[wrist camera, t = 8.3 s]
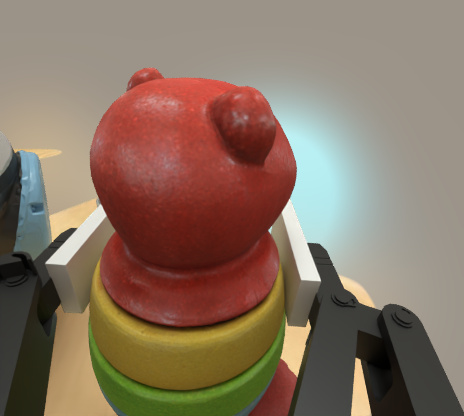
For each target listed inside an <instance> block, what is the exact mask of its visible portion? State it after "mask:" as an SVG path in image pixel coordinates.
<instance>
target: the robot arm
mask: <svg viewBox="0 0 464 416" xmlns="http://www.w3.org/2000/svg"><path fill="white" fill-rule="evenodd" d="M114 232H115V229H114V228H113V226H112V224H111V223H110V221H109V219H108V217H107V215H106V213H105V211H104V209H103V207H102V205H101V204H100V205H99V207H98V208H97V209H96V210H95V211H94V212H93V213H92V214H91V215H90V216H89V217H88V218H87V219H86V220H85V221H84V222H83V224H82V225H81V226H80V227H79V228H70V229H68V230H66V231H65V232H63V233H61V234H60V235H59V236H58V237H57V238H56V239H55V240H54V242H52V236H51V227H50V220H49V212H48V206H47V199H46V193H45V187H44V180H43V175H42V170H41V164H40V160H39V157H38V156H37V155H36V154H35V153H32V152H25V151H23V150H21V151H17V152H16V153H14V150H13V148H12V146H11V144H10V142H9V141H8V139H7V137H6V136H5V135H4V134H3V133H2V132H1V131H0V416H44V410H45V403H46V395H47V388H48V381H49V373H50V366H51V359H52V351H53V344H54V336H55V329H56V322H57V316H56V313H55V310H56V309H57V307H58V306H59V305H60V303H61V305H62V308H63V310H64V312H67V313H83V312H84V310H85V308H86V307H87V305H88V304H89V302H90V291H91V284H92V278H93V274H94V271H95V268H96V265H97V263H98V261H99V259H100V257H101V256H102V252H103V250H104V248H105V246H106V244H107V242H108V240H109V239H110V237H111V236H112V235H113V233H114ZM271 236H272V237H273V239H274V241H275V243H276V245H277V248H278V253H279V259H280V263H281V267H282V272H283V279H284V292H285V305H284V307H285V312H286V318H287V323H288V326H298V327H306V324H307V321H308V319H309V322H310V326H311V330H310V333H309V335H308V338H307V341H306V344H305V345H306V347H305V351H304V355H303V359H302V362H301V366H300V370H299V374H298V378H297V381H296V385H295V389H294V393H293V397H292V400H291V404H290V408H289V412H288V416H351V407H352V395H353V382H354V370H355V357H356V358H358V359H360V360H361V364H362V369H363V374H364V379H365V384H366V389H367V394H368V399H369V404H370V409H371V414H372V416H464V412H463V410H462V408H461V405H460V403H459V401H458V399H457V397H456V395H455V393H454V391H453V389H452V386H451V384H450V382H449V380H448V378H447V375H446V373H445V371H444V369H443V367H442V365H441V363H440V361H439V358H438V356H437V354H436V352H435V350H434V348H433V346H432V344H431V342H430V339H429V337H428V335H427V333H426V331H425V329H424V326H423V324H422V323H421V321H420V320H419V318H418V317H417V316H416V315H415V314H414V313H413V312H411V311H410V310H408V309H406V308H405V307H402V306H399V305H396V304H388V305H386V306H384V308H383V309H382V311H381V310H378V309H375V308H372V307H369V306H366V305H363V304H361V303H359V302H358V300H357V299H356V297H355V296H354V295H353V294H352V293H351V292H349V291H347V290H346V289H344V287H343V285H342V283H341V281H340V279H339V276H338V274H337V272H336V270H335V268H334V266H333V263H332V261H331V260H330V257H329V255H328V253H327V251H326V250H325V249H324V248H323V247H322V246H321V245H320V244H316V243H307V242H306V240H305V237H304V234H303V231H302V229H301V226H300V224H299V221H298V218H297V215H296V213H295V210H294V207H293V205H292V202H291V199H289V201H288V203H287V205H286V206H285V208H284V210H283V211H282V213H281V214H280V216H279V217H278V219H277V220H276V221H275V223H274V224H273V225H272V231H271Z"/></svg>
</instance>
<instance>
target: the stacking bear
mask: <svg viewBox="0 0 464 416" xmlns="http://www.w3.org/2000/svg"><path fill="white" fill-rule="evenodd" d="M90 168H91V177H92V180H93V183H94V187H95V189H96V192H97V195H98V197H99V200H100V202H101V205H102V207H103V209H104V211H105V213H106V215H107V217H108V219H109V221H110V223H111V224H112V226H113V228H114V229H115V232H114V233H113V235H112V236H111V237H110V239H109V240H108V242H107V244H106V246H105V248H104V250H103V252H102V256H101V257H100V259H99V261H98V263H97V265H96V268H95V271H94V274H93V278H92V284H91V291H90V316H89V347H90V355H91V360H92V366H93V369H94V372H95V375H96V378H97V381H98V384H99V386H100V389H101V391H102V393H103V395H104V397H105V399H106V400H107V402H108V403H109V404H110V406H111V407H112V408H113V410H114V411H115V412H116V414H117V415H118V416H288V412H289V408H290V404H291V400H292V397H293V393H294V389H295V385H296V381H297V377H296V375H295V374H294V373H293V372H292V371H291V370H290V369H289V368H288V365H287V364H286V363H285V361H283V360H282V359H280V357H281V354H282V349H283V343H284V336H285V323H286V312H285V307H284V305H285V292H284V279H283V272H282V267H281V263H280V259H279V253H278V248H277V245H276V243H275V241H274V239H273V237H272V236H271V234H270V233H269V231H268V230H269V229H270V227H271V226H272V225H273V224H274V223H275V221H276V220H277V219H278V217H279V216H280V214H281V213H282V211H283V210H284V208H285V206H286V205H287V203H288V201H289V199H290V196H291V194H292V191H293V189H294V186H295V181H296V172H297V170H296V169H297V167H296V161H295V158H294V155H293V151H292V149H291V146H290V144H289V141H288V139H287V137H286V135H285V133H284V131H283V129H282V127H281V125H280V124H279V122H278V120H277V119H276V118H275V116H274V115H273V112H272V110H271V107H270V105H269V103H268V101H267V100H266V99H265V98H264V96H263V95H262V94H261V92H259V91H258V90H256V89H255V88H252V87H248V86H241V87H238V86H235V85H233V84H230V83H226V82H223V81H218V80H211V79H203V78H166V79H165V78H164V77H163V76H162V75H161V74H160V73H159V72H158V70H157V69H155V68H144V69H142V70H140V71H138V72H136V73H135V74H134V75H133V76H132V77H131V79H130V81H129V82H128V87H127V92H126V93H124V94H123V95H122V96H121V97H119V98H118V99H117V100H116V101H115V102H114V103H113V104H112V105H111V106H110V108H109V109H108V110H107V112H106V113H105V114H104V115H103V117H102V119H101V121H100V123H99V125H98V127H97V129H96V132H95V135H94V138H93V141H92V145H91V149H90Z"/></svg>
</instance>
